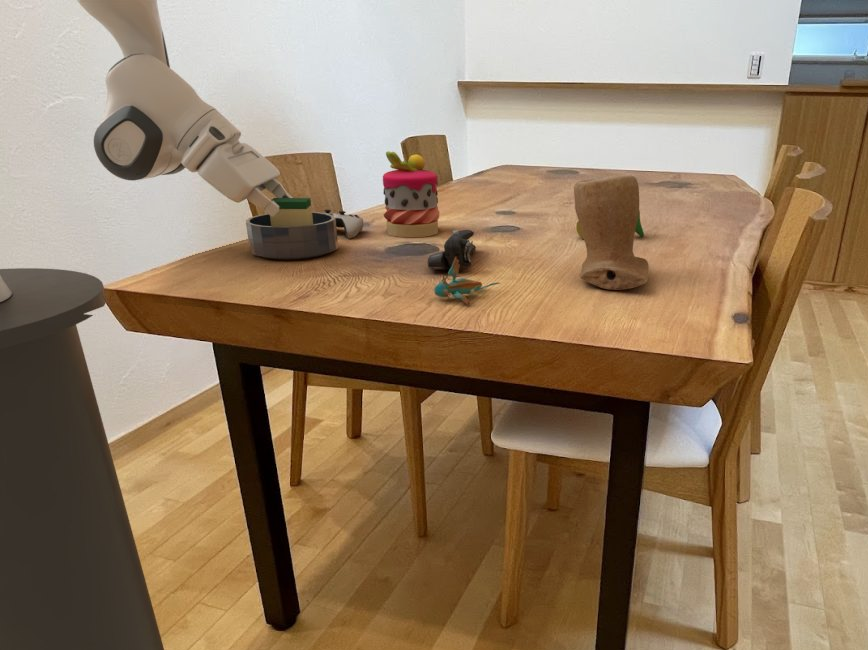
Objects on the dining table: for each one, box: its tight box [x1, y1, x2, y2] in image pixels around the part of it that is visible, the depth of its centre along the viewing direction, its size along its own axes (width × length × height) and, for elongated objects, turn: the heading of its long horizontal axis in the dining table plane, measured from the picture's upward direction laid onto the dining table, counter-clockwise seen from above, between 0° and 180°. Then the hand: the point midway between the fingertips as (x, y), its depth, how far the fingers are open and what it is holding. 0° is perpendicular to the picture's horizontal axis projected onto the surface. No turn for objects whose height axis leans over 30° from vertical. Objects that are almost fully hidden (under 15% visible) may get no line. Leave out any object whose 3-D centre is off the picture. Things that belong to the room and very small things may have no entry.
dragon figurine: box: [433, 257, 501, 305], centre depth 89 cm, size 6×7×8 cm
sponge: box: [270, 197, 313, 227], centre depth 110 cm, size 6×4×8 cm, turn 95°
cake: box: [382, 151, 440, 238], centre depth 126 cm, size 10×11×15 cm
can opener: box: [427, 229, 477, 271], centre depth 106 cm, size 18×7×6 cm, turn 170°
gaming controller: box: [323, 209, 364, 239], centre depth 126 cm, size 11×6×7 cm
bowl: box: [245, 211, 339, 261], centre depth 111 cm, size 14×14×6 cm
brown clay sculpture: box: [573, 174, 650, 291], centre depth 96 cm, size 15×12×15 cm
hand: (284, 208), depth 109 cm, fingers open, 8 cm apart
